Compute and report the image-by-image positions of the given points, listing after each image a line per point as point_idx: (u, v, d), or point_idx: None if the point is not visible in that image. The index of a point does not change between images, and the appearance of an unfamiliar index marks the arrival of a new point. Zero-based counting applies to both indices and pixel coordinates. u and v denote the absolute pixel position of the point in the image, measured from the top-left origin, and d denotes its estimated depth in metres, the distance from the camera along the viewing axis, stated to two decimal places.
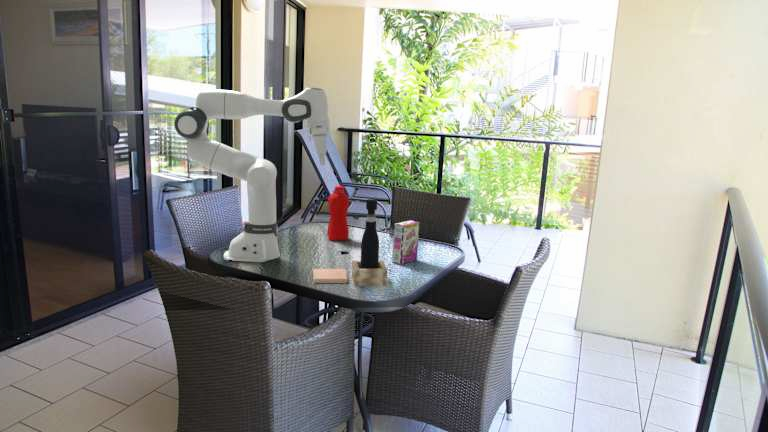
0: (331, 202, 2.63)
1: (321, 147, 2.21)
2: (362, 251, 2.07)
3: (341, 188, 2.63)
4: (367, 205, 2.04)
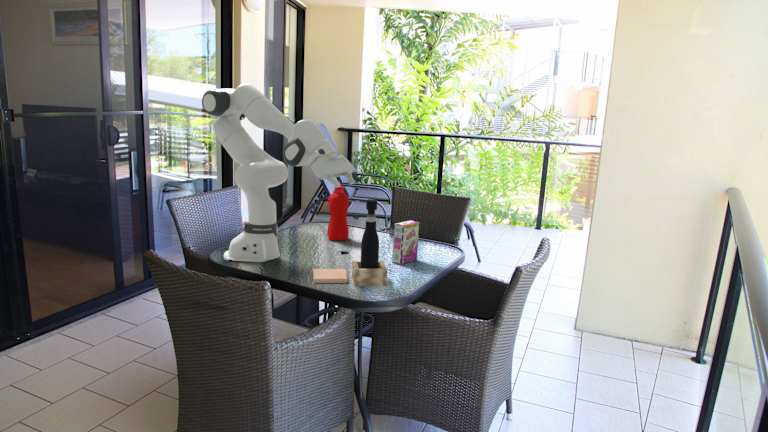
0: (331, 202, 2.63)
1: (319, 171, 2.04)
2: (362, 251, 2.07)
3: (341, 188, 2.63)
4: (367, 205, 2.04)
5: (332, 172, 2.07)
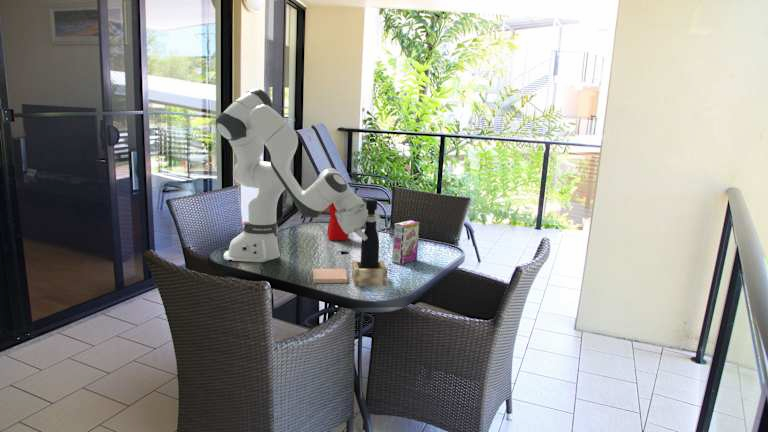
0: None
1: None
2: (362, 251, 2.07)
3: None
4: (367, 205, 2.04)
5: None
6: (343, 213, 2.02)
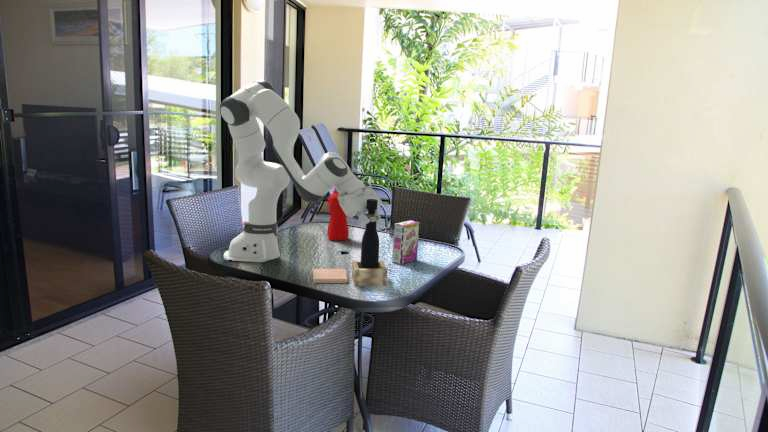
0: (331, 202, 2.63)
1: None
2: (362, 251, 2.07)
3: None
4: (367, 205, 2.04)
5: None
6: (345, 196, 2.01)
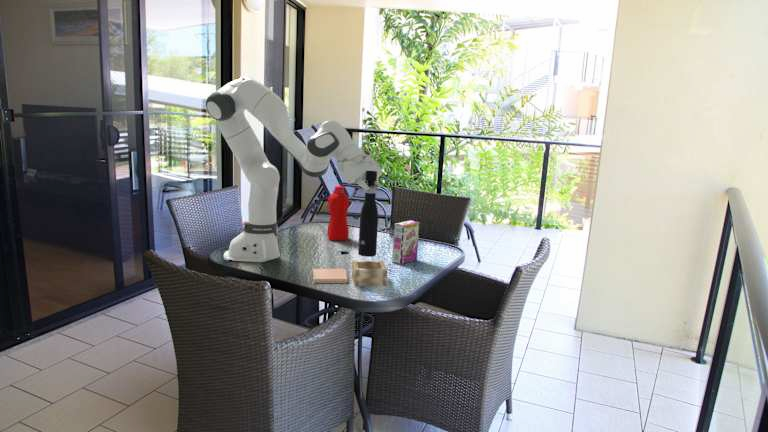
0: (331, 202, 2.63)
1: None
2: (361, 223, 2.04)
3: (341, 188, 2.63)
4: (366, 176, 2.01)
5: None
6: (344, 162, 1.98)
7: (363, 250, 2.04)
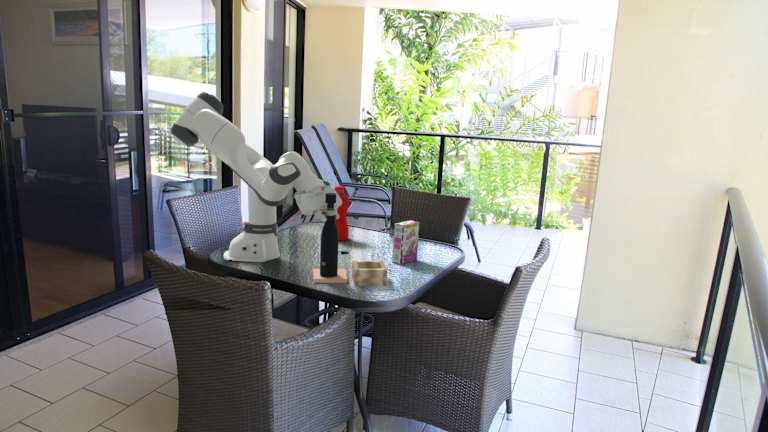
0: None
1: None
2: (321, 245, 2.07)
3: (341, 188, 2.63)
4: (326, 199, 2.04)
5: None
6: (302, 195, 2.02)
7: (324, 271, 2.08)
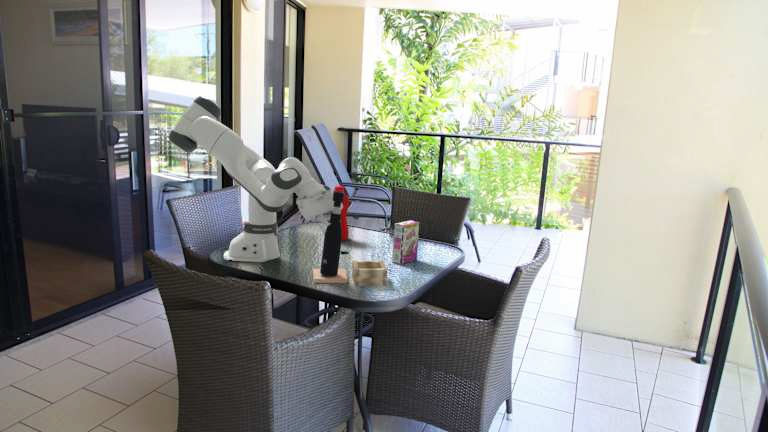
0: None
1: None
2: (324, 242, 2.08)
3: (341, 188, 2.63)
4: (333, 197, 2.07)
5: None
6: (304, 200, 2.03)
7: (324, 269, 2.08)
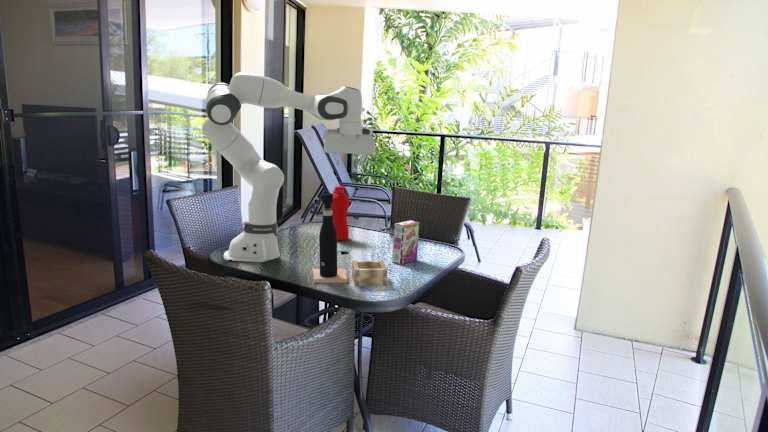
0: None
1: None
2: (320, 245, 2.07)
3: (341, 188, 2.63)
4: (323, 199, 2.04)
5: None
6: (328, 135, 2.23)
7: (323, 271, 2.08)
